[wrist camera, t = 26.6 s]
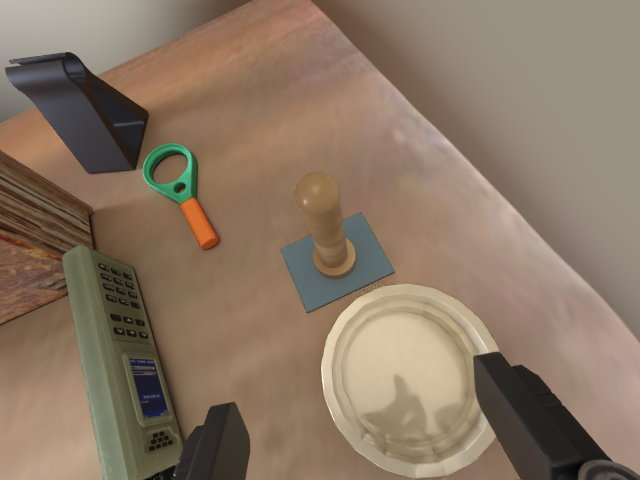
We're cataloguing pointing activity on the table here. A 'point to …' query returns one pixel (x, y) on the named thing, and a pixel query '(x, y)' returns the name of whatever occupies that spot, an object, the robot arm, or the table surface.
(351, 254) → the wooden pestle
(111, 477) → the handheld radio
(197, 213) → the magnifying glass
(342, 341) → the bowl
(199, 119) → the table surface
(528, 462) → the robot arm
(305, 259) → the rest mat
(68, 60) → the phone stand
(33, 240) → the book
